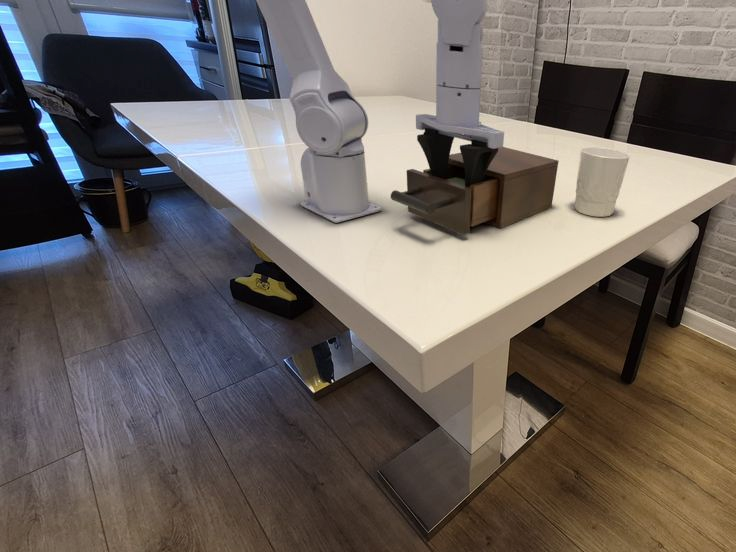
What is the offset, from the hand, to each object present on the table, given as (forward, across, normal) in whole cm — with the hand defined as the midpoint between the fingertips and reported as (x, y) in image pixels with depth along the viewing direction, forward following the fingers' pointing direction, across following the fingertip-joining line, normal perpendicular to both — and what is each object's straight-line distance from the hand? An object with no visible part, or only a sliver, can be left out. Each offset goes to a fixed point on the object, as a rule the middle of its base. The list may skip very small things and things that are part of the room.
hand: (455, 189), depth 59 cm
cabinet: (+5, 0, -10) cm, 11 cm away
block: (+3, 0, 0) cm, 3 cm away
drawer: (+4, 0, 0) cm, 4 cm away
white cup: (+5, -12, -22) cm, 26 cm away
